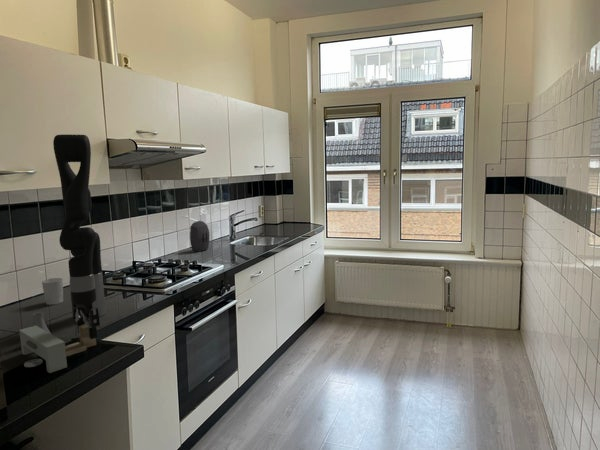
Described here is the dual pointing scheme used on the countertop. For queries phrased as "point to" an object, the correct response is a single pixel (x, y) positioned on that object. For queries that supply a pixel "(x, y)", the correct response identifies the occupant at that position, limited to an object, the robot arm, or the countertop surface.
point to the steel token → (33, 363)
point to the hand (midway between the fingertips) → (87, 335)
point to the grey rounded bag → (199, 236)
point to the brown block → (81, 341)
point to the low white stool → (44, 347)
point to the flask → (40, 321)
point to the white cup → (53, 290)
